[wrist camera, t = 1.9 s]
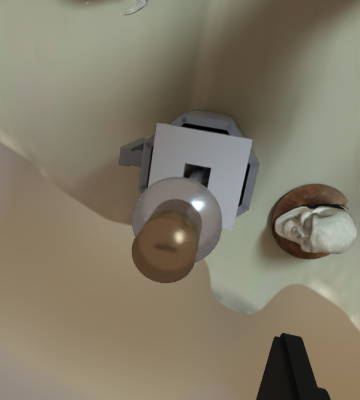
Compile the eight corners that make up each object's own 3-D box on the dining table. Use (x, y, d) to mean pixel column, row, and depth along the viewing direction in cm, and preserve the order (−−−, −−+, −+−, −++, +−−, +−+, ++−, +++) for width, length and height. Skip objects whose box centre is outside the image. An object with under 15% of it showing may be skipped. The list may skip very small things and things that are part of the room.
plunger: (245, 137, 37) (267, 189, 15) (229, 210, 40) (230, 343, 18) (169, 124, 38) (88, 155, 16) (158, 196, 41) (76, 308, 19)
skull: (268, 264, 55) (276, 242, 46) (268, 205, 59) (276, 174, 50) (349, 270, 53) (374, 249, 44) (343, 209, 57) (365, 178, 48)
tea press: (254, 119, 50) (268, 129, 32) (237, 195, 53) (242, 243, 35) (154, 102, 51) (114, 102, 33) (144, 177, 54) (102, 215, 36)
